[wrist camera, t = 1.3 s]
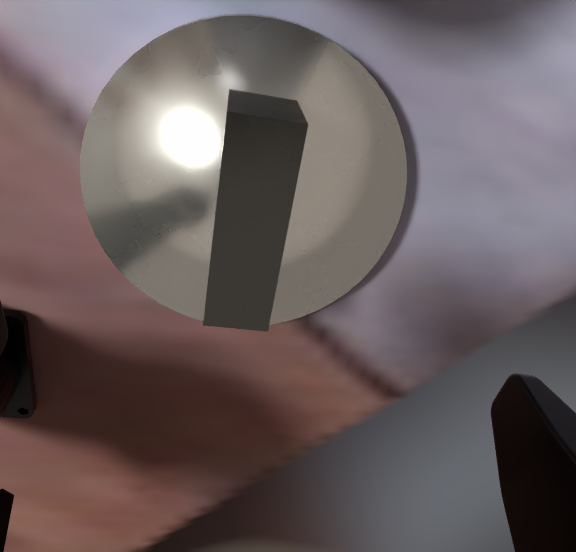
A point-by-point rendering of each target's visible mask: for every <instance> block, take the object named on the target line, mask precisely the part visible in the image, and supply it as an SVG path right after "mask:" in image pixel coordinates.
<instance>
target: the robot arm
mask: <svg viewBox="0 0 576 552" xmlns="http://www.w3.org/2000/svg"><path fill="white" fill-rule="evenodd" d="M10 320H12V321H15V322H16V323H17V324H13V323H12V322H10ZM24 408H26V409H24ZM35 409H36V398H35V389H34V380H33V371H32V362H31V352H30V343H29V334H28V325H27V319H26V317H25V316H24V315H23V314H22V313H20V312H17V311H10V310H3V309H2V305H1V301H0V418H1V417H12V418H29V417H31V416H32V415H33V414H34V412H35ZM491 418H492V427H493V434H494V442H495V450H496V457H497V465H498V472H499V480H500V487H501V493H502V497H503V503H504V507H505V512H506V516H507V520H508V524H509V528H510V532H511V536H512V541H513V545H514V549H515V552H576V413H575V412H574V411H573V410H572V409H571V408H569V406H567V405H566V404H565V403H564V402H563V401H562V400H561V399H560V398H559V397H558V396H557V395H556V394H554V392H552V391H551V390H550V389H549V388H548V387H547V386H546V385H545V384H544V383H543V382H542V381H541V380H539V379H538V378H537V377H534V376H529V375H523V374H512V375H511V376H509V378H508V379H507V380H506V382H505V383H504V385H503V387H502V388H501V390H500V392H499V393H498V395H497V396H496V398H495V399H494V401H493V403H492V407H491ZM13 498H14V495H13V494H11V493H10V492H8V491H6V490H4V489H0V552H3V551H4V546H5V541H6V535H7V530H8V525H9V519H10V514H11V509H12V504H13Z"/></svg>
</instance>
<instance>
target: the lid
mask: <svg viewBox="0 0 576 552" xmlns="http://www.w3.org/2000/svg"><path fill="white" fill-rule="evenodd" d="M80 180H81V189H82V196H83V200H84V204H85V208H86V212H87V216H88V218H89V221H90V223H91V226H92V228H93V231H94V233H95V235H96V237H97V239H98V241H99V242H100V244H101V246H102V248H103V249H104V251H105V253H106V254H107V255H108V257H109V258H110V259H111V261H112V262H113V263H114V265H115V266H116V267H117V268H118V269H119V270H120V272H121V273H122V274H123V275H124V276H125V277H126V278H127V279H128V280H129V281H130V282H131V283H132V284H134V285H135V286H136V287H137V288H138V289H140V290H141V291H142V292H143V293H145V294H146V295H148V296H149V297H151V298H152V299H154V300H155V301H157V302H158V303H160V304H162V305H164V306H166V307H168V308H170V309H172V310H174V311H176V312H178V313H181V314H183V315H186V316H189V317H191V318H194V319H198V320H202V321H203V325H205V326H216V327H227V328H238V329H248V330H259V331H268V329H269V325H270V324H276V323H282V322H286V321H289V320H293V319H296V318H300V317H303V316H305V315H308V314H310V313H313V312H315V311H318V310H319V309H321V308H323V307H325V306H327V305H329V304H331V303H332V302H334V301H336V300H337V299H338V298H340V297H341V296H343V295H344V294H346V293H347V292H348V291H350V290H351V289H352V288H353V287H354V286H355V285H357V284H358V283H359V282H360V281H361V280H362V279H363V278H364V277H365V276H366V275H367V274H368V272H369V271H370V270H371V269H372V268H373V267H374V266H375V264H376V263H377V262H378V260H379V259H380V257H381V256H382V255H383V253H384V252H385V250H386V248H387V246H388V244H389V243H390V241H391V239H392V237H393V235H394V233H395V230H396V227H397V225H398V222H399V220H400V217H401V213H402V209H403V205H404V201H405V194H406V185H407V158H406V152H405V146H404V140H403V136H402V133H401V130H400V126H399V123H398V120H397V117H396V115H395V113H394V111H393V109H392V107H391V105H390V103H389V100H388V98H387V97H386V95H385V94H384V92H383V91H382V89H381V88H380V86H379V85H378V83H377V82H376V80H375V79H374V78H373V77H372V76H371V75H370V74H369V72H368V71H367V70H366V69H365V68H364V67H363V66H362V65H361V63H360V62H358V61H357V60H356V59H355V58H354V57H352V56H351V55H350V54H349V53H348V52H347V51H345V50H344V49H343V48H342V47H340V46H339V45H337V44H336V43H334V42H332V41H331V40H329V39H327V38H326V37H324V36H323V35H321V34H319V33H318V32H315V31H313V30H311V29H309V28H306V27H304V26H302V25H299V24H297V23H294V22H290V21H287V20H283V19H279V18H276V17H270V16H262V15H254V14H228V15H220V16H214V17H208V18H203V19H199V20H196V21H193V22H190V23H187V24H184V25H181V26H178V27H176V28H174V29H172V30H170V31H168V32H166V33H165V34H163V35H161V36H159V37H157V38H155V39H154V40H153V41H151V42H150V43H148V44H147V45H146V46H144V47H143V48H141V49H140V50H139V51H137V52H136V53H135V54H133V55H132V56H131V57H130V58H129V59H128V60H127V61H126V62H125V63H124V64H123V65H122V66H121V67H120V68H119V69H118V70H117V71H116V73H115V74H114V75H113V77H112V78H111V79H110V81H109V82H108V83H107V85H106V86H105V87H104V89H103V90H102V92H101V94H100V96H99V98H98V100H97V102H96V103H95V105H94V107H93V109H92V112H91V114H90V117H89V120H88V123H87V126H86V129H85V132H84V138H83V143H82V148H81V158H80Z"/></svg>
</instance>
